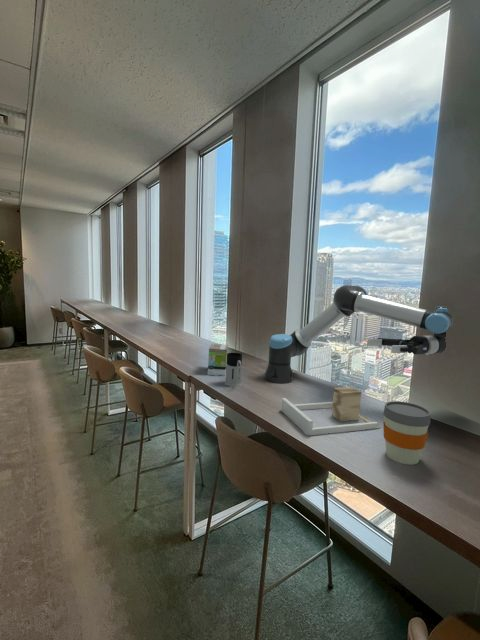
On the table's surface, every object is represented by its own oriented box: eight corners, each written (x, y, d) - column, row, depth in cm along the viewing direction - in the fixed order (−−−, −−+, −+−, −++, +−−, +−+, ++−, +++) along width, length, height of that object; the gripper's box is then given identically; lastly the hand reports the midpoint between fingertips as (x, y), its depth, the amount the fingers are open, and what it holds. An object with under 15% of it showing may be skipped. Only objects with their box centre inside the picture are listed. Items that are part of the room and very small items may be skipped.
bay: (281, 410, 130) (282, 398, 129) (344, 405, 138) (345, 394, 138) (307, 435, 109) (308, 421, 108) (379, 428, 117) (381, 414, 117)
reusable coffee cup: (373, 444, 104) (377, 399, 103) (412, 447, 104) (417, 402, 102) (389, 466, 92) (395, 416, 90) (434, 469, 92) (440, 418, 90)
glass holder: (238, 380, 166) (240, 352, 165) (248, 389, 153) (249, 358, 151) (222, 381, 164) (223, 352, 162) (230, 391, 150) (231, 359, 148)
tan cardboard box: (331, 415, 127) (333, 387, 126) (349, 413, 130) (351, 386, 128) (340, 421, 122) (343, 393, 120) (358, 419, 124) (361, 391, 123)
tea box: (225, 376, 174) (227, 349, 172) (207, 375, 174) (208, 348, 172) (227, 368, 189) (228, 343, 187) (210, 368, 189) (211, 343, 187)
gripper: (449, 361, 121) (402, 363, 115) (398, 347, 145) (358, 348, 138) (451, 341, 120) (404, 342, 114) (400, 331, 144) (359, 331, 138)
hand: (379, 345), depth 126 cm, fingers open, 13 cm apart
